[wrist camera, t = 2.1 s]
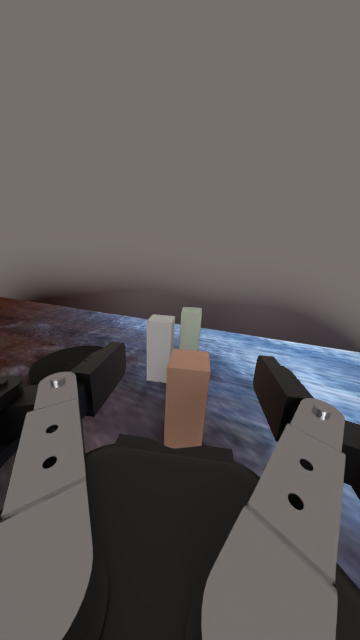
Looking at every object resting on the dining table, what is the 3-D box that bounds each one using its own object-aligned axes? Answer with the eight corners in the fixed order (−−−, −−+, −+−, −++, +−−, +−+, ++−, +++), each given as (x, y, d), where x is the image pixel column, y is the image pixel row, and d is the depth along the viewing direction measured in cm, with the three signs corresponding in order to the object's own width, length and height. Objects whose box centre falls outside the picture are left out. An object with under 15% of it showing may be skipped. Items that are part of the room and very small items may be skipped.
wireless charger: (131, 365, 47) (131, 358, 47) (56, 408, 33) (55, 399, 32) (89, 346, 56) (89, 340, 56) (16, 373, 42) (14, 365, 41)
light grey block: (146, 380, 42) (146, 320, 37) (152, 368, 46) (153, 314, 42) (168, 383, 41) (171, 323, 37) (172, 370, 46) (174, 316, 42)
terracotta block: (163, 455, 26) (166, 367, 22) (169, 425, 30) (173, 348, 26) (199, 461, 25) (210, 371, 21) (199, 429, 30) (208, 352, 26)
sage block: (178, 360, 50) (181, 311, 46) (180, 352, 55) (183, 306, 51) (196, 362, 50) (201, 312, 46) (197, 354, 55) (201, 308, 51)
